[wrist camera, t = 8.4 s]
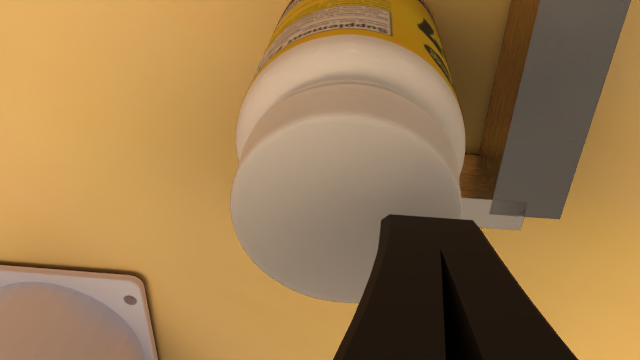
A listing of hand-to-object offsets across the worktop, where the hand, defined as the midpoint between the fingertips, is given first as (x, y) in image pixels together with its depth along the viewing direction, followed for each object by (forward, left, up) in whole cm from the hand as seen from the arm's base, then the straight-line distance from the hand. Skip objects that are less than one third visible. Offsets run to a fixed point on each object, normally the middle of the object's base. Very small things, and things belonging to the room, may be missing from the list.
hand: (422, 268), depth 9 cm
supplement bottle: (0, +1, -10) cm, 10 cm away
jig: (0, -3, -9) cm, 10 cm away
